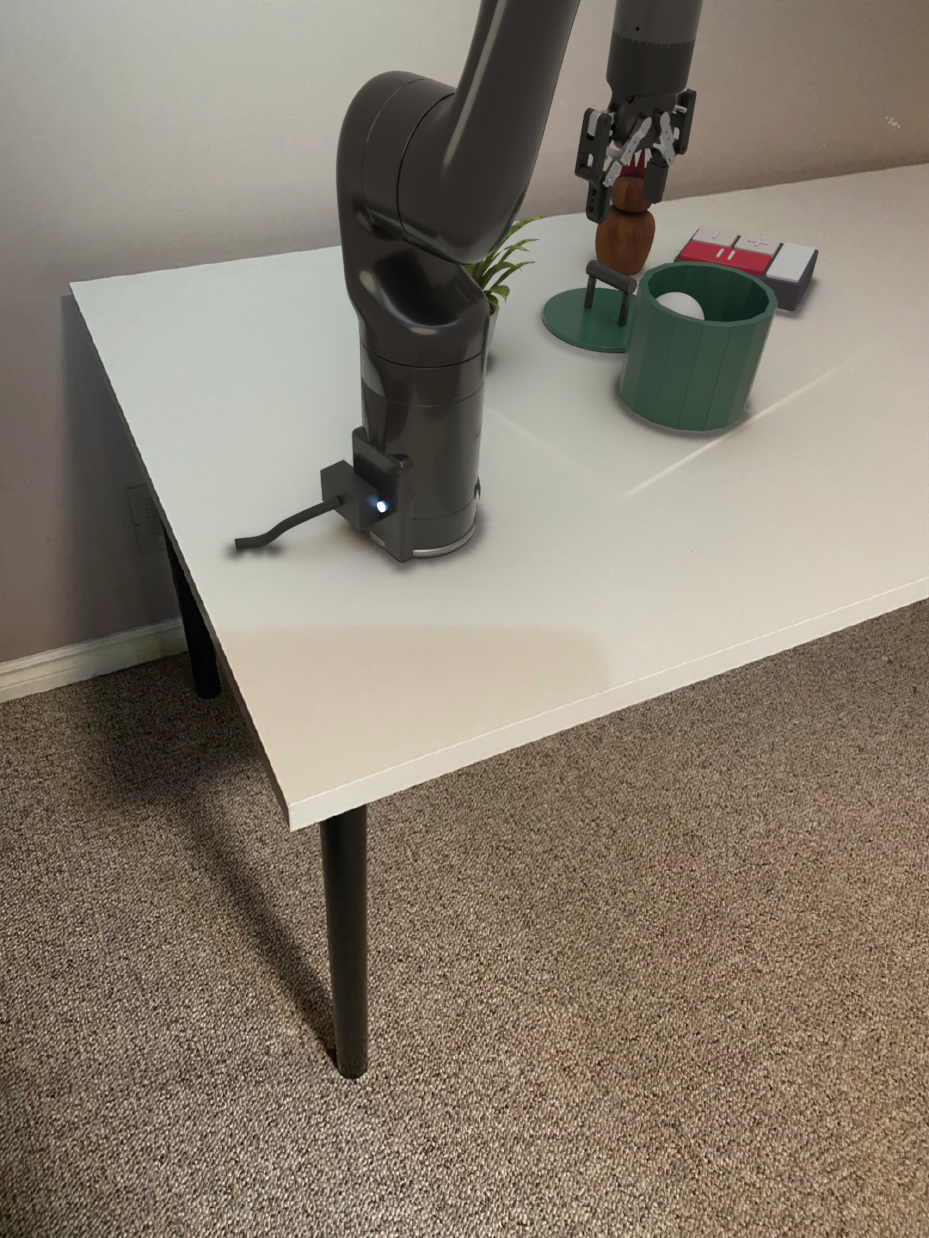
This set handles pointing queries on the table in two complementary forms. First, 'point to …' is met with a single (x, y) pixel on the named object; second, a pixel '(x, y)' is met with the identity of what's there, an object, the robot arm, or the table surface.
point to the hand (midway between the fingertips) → (624, 211)
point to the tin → (696, 346)
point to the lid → (594, 311)
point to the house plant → (480, 268)
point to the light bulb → (681, 304)
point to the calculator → (756, 260)
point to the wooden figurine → (627, 222)
